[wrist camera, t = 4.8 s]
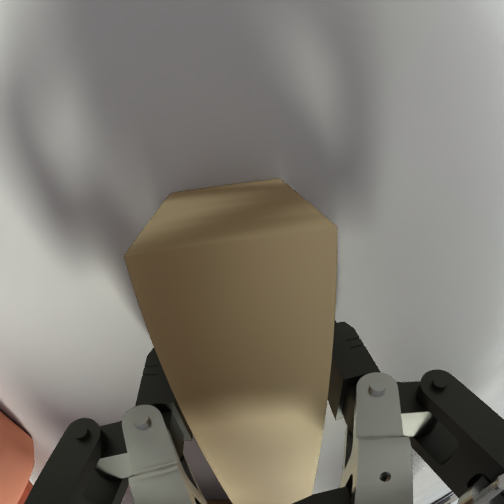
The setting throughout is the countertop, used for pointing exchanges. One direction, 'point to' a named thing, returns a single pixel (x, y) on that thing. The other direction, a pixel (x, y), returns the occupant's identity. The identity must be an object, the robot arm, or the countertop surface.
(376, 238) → the countertop surface
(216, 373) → the rail
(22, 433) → the pot
